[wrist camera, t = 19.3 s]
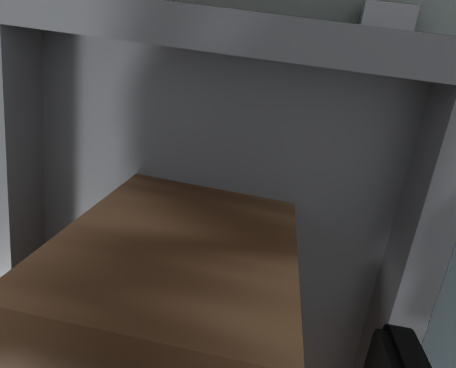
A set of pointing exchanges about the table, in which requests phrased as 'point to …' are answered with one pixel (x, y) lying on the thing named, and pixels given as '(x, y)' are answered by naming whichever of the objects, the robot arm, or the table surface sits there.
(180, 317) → the walnut block
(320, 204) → the grey and tan frame
